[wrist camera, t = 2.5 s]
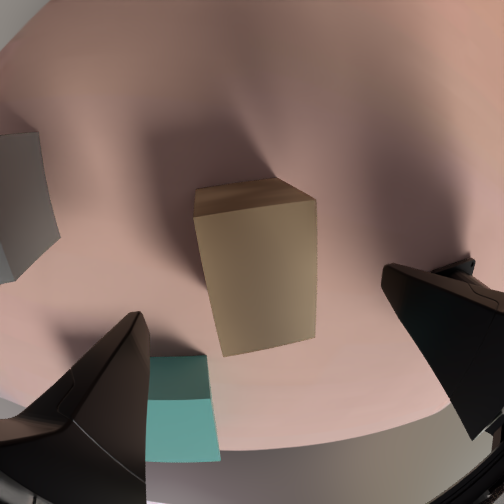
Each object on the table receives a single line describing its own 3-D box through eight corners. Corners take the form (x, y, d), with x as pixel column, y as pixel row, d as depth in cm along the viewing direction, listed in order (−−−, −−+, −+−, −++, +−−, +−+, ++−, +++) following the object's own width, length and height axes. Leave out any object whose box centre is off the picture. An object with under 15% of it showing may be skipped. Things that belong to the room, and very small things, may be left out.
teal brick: (206, 351, 17) (210, 398, 14) (215, 424, 21) (220, 460, 18) (95, 352, 16) (82, 395, 12) (132, 425, 20) (129, 459, 16)
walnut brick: (276, 177, 13) (316, 199, 9) (283, 281, 16) (314, 337, 11) (195, 188, 13) (193, 217, 8) (215, 294, 15) (223, 357, 11)
